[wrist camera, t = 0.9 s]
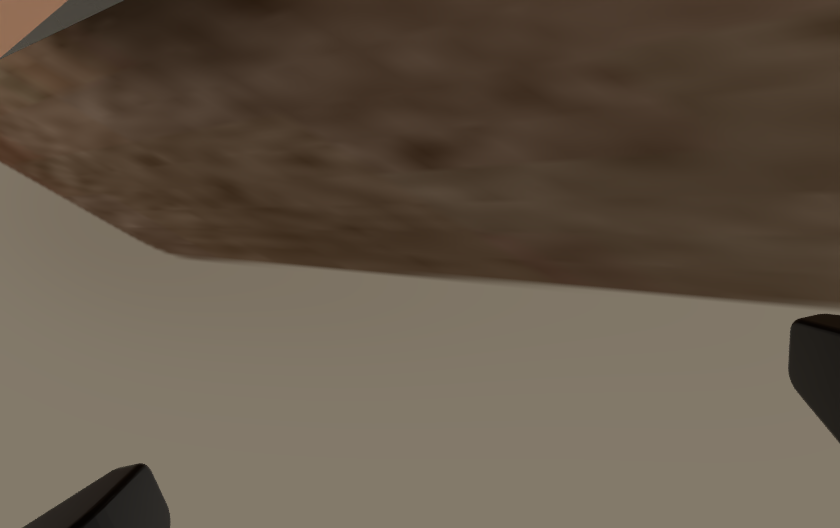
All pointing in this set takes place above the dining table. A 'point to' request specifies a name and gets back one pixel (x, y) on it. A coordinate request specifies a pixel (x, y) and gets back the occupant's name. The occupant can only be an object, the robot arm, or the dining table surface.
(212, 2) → the dining table surface
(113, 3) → the chute
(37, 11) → the terracotta block
